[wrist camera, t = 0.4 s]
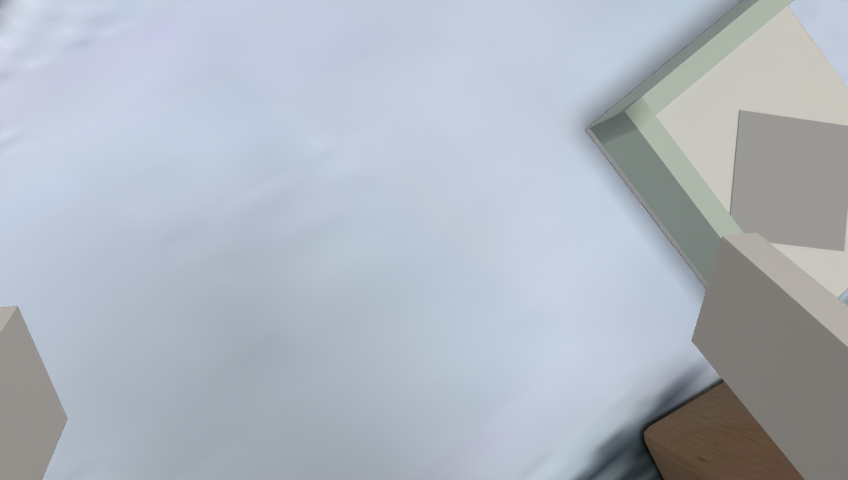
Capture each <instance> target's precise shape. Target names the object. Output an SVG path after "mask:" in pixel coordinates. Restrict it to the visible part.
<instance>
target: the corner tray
mask: <svg viewBox="0 0 848 480" xmlns="http://www.w3.org/2000/svg"><path fill="white" fill-rule="evenodd" d="M792 1H793V0H743V1H742V2H740V3H739V4H738V5H737V6H735V7H734V8H733V9H732V10H731V11H729V12H728V13H727V14H726V15H725V16H723V17H722V18H721V19H720V20H718V21H717V22H716V23H715V24H714V25H712V26H711V27H710V28H709V29H707V30H706V31H705V32H704V33H703V34H701V35H700V36H699V37H698V38H697V39H695V40H694V41H693V42H692V43H690V44H689V45H688V46H687V47H686V48H684V49H683V50H682V51H681V52H679V53H678V54H677V55H676V56H675V57H673V58H672V59H671V60H670V61H669V62H667V63H666V64H665V65H664V66H662V67H661V68H660V69H659V70H658V71H656V72H655V73H654V74H653V75H651V76H650V77H649V78H648V79H647V80H645V81H644V82H643V83H642V84H641V85H639V86H638V87H637V88H636V89H634V90H633V91H632V92H631V93H630V94H628V95H627V96H626V97H625V98H623V99H622V100H621V101H620V102H619V103H617V104H616V105H615V106H614V107H613V108H611V109H610V110H609V111H608V112H606V113H605V114H604V115H603V116H602V117H600V118H599V119H598V120H597V121H595V122H594V123H593V124H592V125H591V126H589V127H588V128H587V129H586V131H587V133H588V134H589V135H590V137H591V138H592V139H593V141H594V142H595V143H596V145H597V146H598V147H599V148H600V150H601V151H602V152H603V154H604V155H605V156H606V158H607V159H608V160H609V162H610V163H611V164H612V166H613V167H614V168H615V169H616V171H617V172H618V173H619V175H620V176H621V177H622V179H623V180H624V181H625V183H626V184H627V185H628V186H629V188H630V189H631V190H632V192H633V193H634V194H635V196H636V197H637V198H638V200H639V201H640V202H641V204H642V205H643V206H644V207H645V209H646V210H647V211H648V213H649V214H650V215H651V217H652V218H653V219H654V221H655V222H656V223H657V224H658V226H659V227H660V228H661V230H662V231H663V232H664V234H665V235H666V236H667V238H668V239H669V240H670V242H671V243H672V244H673V245H674V247H675V248H676V249H677V251H678V252H679V253H680V255H681V256H682V257H683V259H684V260H685V261H686V262H687V264H688V265H689V266H690V268H691V269H692V270H693V272H694V273H695V274H696V276H697V277H698V278H699V280H700V281H701V282H702V283H703V285H704V286H705V287H706V289H707V286H708V283H709V279H710V276H711V273H712V269H713V266H714V263H715V259H716V256H717V252H718V249H719V246H720V242H721V239H722V236H727V235H737V234H747V233H758V234H759V235H761V236H762V237H763V238H764V239H766V240H767V241H768V242H769V243H771V244H772V245H773V246H774V247H775V248H777V249H778V250H779V251H780V252H782V253H783V254H784V255H785V256H787V257H788V258H789V259H790V260H791V261H793V262H794V263H795V264H796V265H798V266H799V267H800V268H801V269H803V270H804V271H805V272H806V273H808V274H809V275H810V276H811V277H812V278H814V279H815V280H816V281H817V282H819V283H820V284H821V285H822V286H824V287H825V288H826V289H827V290H828V291H830V292H831V293H832V294H833V295H835V296H836V297H839V296H840V295H841V294H842V293H843V292H844V291H845V290H846V289H847V288H848V88H847V87H846V85H845V84H844V82H843V81H842V80H841V78H840V77H839V76H838V74H837V73H836V71H835V70H834V69H833V67H832V66H831V64H830V63H829V62H828V60H827V59H826V57H825V56H824V55H823V53H822V52H821V50H820V49H819V48H818V46H817V45H816V43H815V42H814V41H813V39H812V38H811V37H810V35H809V34H808V32H807V31H806V30H805V28H804V27H803V25H802V24H801V23H800V21H799V20H798V18H797V17H796V16H795V14H794V13H793V11H792V10H791V9H790V7H789V6H788V5H789V4H790V3H791V2H792Z"/></svg>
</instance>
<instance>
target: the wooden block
mask: <svg viewBox="0 0 848 480" xmlns="http://www.w3.org/2000/svg"><path fill="white" fill-rule="evenodd" d="M644 439H645V442H646V445H647V447H648V449H649V451H650V453H651V455H652V457H653V459H654V461H655V463H656V465H657V467H658V469H659V471H660V473H661V475H662V477H663V479H664V480H805V479H804V478H803V477H802V476H801V474H800V473H799V472H798V471H797V469H796V468H795V467H794V466H793V464H792V463H791V462H790V461H789V460H788V458H787V457H786V456H785V455H784V453H783V452H782V451H781V450H780V449H779V447H778V446H777V445H776V444H775V442H774V441H773V440H772V439H771V438H770V436H769V435H768V434H767V433H766V431H765V430H764V429H763V428H762V427H761V425H760V424H759V423H758V422H757V420H756V419H755V418H754V417H753V416H752V414H751V413H750V412H749V411H748V409H747V408H746V407H745V406H744V404H743V403H742V402H741V401H740V400H739V398H738V397H737V396H736V395H735V393H734V392H733V391H732V390H731V389H730V387H729V386H728V385H727V384H726V382H725V381H724V382H722V383H721V384H719V385H717V386H716V387H714V388H712V389H711V390H709V391H707V392H706V393H704V394H702V395H701V396H699V397H697V398H696V399H694V400H692V401H691V402H689V403H687V404H686V405H684V406H682V407H681V408H679V409H677V410H676V411H674V412H672V413H671V414H669V415H667V416H666V417H664V418H662V419H661V420H659V421H657V422H656V423H654V424H652V425H651V426H649V427H648V428H647V429H646V430H645V432H644Z"/></svg>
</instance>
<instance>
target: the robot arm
mask: <svg viewBox="0 0 848 480" xmlns="http://www.w3.org/2000/svg"><path fill="white" fill-rule="evenodd" d="M691 341H692V342H693V343H694V344H695V346H696V347H697V348H698V349H699V351H700V352H701V353H702V354H703V356H704V357H705V358H706V359H707V360H708V362H709V363H710V364H711V365H712V367H713V368H714V369H715V370H716V371H717V373H718V374H719V375H720V376H721V378H722V379H723V380H724V381H725V382H726V384H727V385H728V386H729V387H730V389H731V390H732V391H733V392H734V393H735V395H736V396H737V397H738V398H739V400H740V401H741V402H742V403H743V404H744V406H745V407H746V408H747V409H748V411H749V412H750V413H751V414H752V416H753V417H754V418H755V419H756V420H757V422H758V423H759V424H760V425H761V427H762V428H763V429H764V430H765V431H766V433H767V434H768V435H769V436H770V438H771V439H772V440H773V441H774V442H775V444H776V445H777V446H778V447H779V449H780V450H781V451H782V452H783V453H784V455H785V456H786V457H787V458H788V460H789V461H790V462H791V463H792V464H793V466H794V467H795V468H796V469H797V471H798V472H799V473H800V474H801V476H802V477H803V478H804V479H805V480H848V306H847V305H846V304H844V303H843V302H842V301H841V300H840V299H838V298H837V297H836V296H835V295H833V294H832V293H831V292H830V291H828V290H827V289H826V288H825V287H824V286H822V285H821V284H820V283H819V282H817V281H816V280H815V279H814V278H812V277H811V276H810V275H809V274H808V273H806V272H805V271H804V270H803V269H801V268H800V267H799V266H798V265H796V264H795V263H794V262H793V261H791V260H790V259H789V258H788V257H787V256H785V255H784V254H783V253H782V252H780V251H779V250H778V249H777V248H775V247H774V246H773V245H772V244H771V243H769V242H768V241H767V240H766V239H764V238H763V237H762V236H761V235H759V234H758V233H747V234H737V235H727V236H722V239H721V242H720V246H719V249H718V252H717V256H716V259H715V263H714V266H713V269H712V273H711V276H710V279H709V283H708V286H707V290H706V293H705V296H704V300H703V303H702V307H701V310H700V313H699V317H698V320H697V324H696V327H695V330H694V334H693V337H692V340H691ZM67 419H68V418H67V416H66V414H65V411H64V409H63V407H62V405H61V402H60V400H59V398H58V396H57V393H56V391H55V389H54V387H53V384H52V382H51V380H50V378H49V375H48V373H47V371H46V369H45V366H44V364H43V362H42V360H41V357H40V355H39V353H38V351H37V348H36V346H35V344H34V342H33V339H32V337H31V335H30V333H29V330H28V328H27V326H26V324H25V321H24V319H23V317H22V315H21V312H20V310H19V308H18V306H12V307H2V308H0V480H42V479H43V476H44V474H45V471H46V469H47V467H48V464H49V462H50V460H51V457H52V455H53V452H54V450H55V448H56V445H57V443H58V440H59V438H60V436H61V433H62V431H63V429H64V426H65V424H66V421H67Z"/></svg>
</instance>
